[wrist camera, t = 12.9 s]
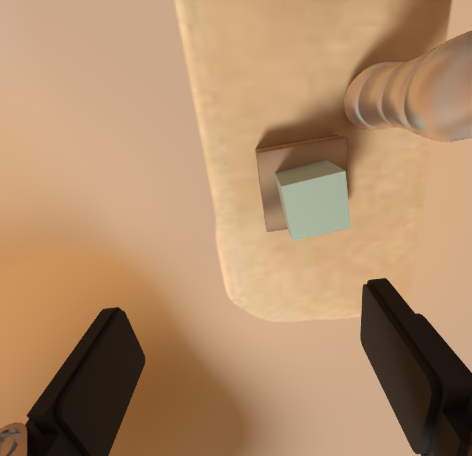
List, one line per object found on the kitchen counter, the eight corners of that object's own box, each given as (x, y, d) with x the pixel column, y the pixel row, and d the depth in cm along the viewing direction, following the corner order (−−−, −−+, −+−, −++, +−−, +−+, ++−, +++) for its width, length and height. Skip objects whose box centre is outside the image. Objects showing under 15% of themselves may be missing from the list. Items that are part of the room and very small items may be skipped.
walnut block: (255, 148, 33) (256, 153, 29) (335, 135, 32) (346, 138, 28) (264, 220, 37) (266, 232, 33) (336, 210, 36) (346, 221, 32)
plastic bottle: (403, 111, 30) (642, 112, 12) (347, 139, 32) (483, 176, 14) (390, 53, 28) (660, -55, 10) (330, 85, 29) (466, 44, 11)
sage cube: (274, 173, 30) (281, 186, 25) (327, 159, 29) (345, 170, 24) (284, 219, 32) (292, 240, 27) (333, 208, 32) (351, 228, 26)
